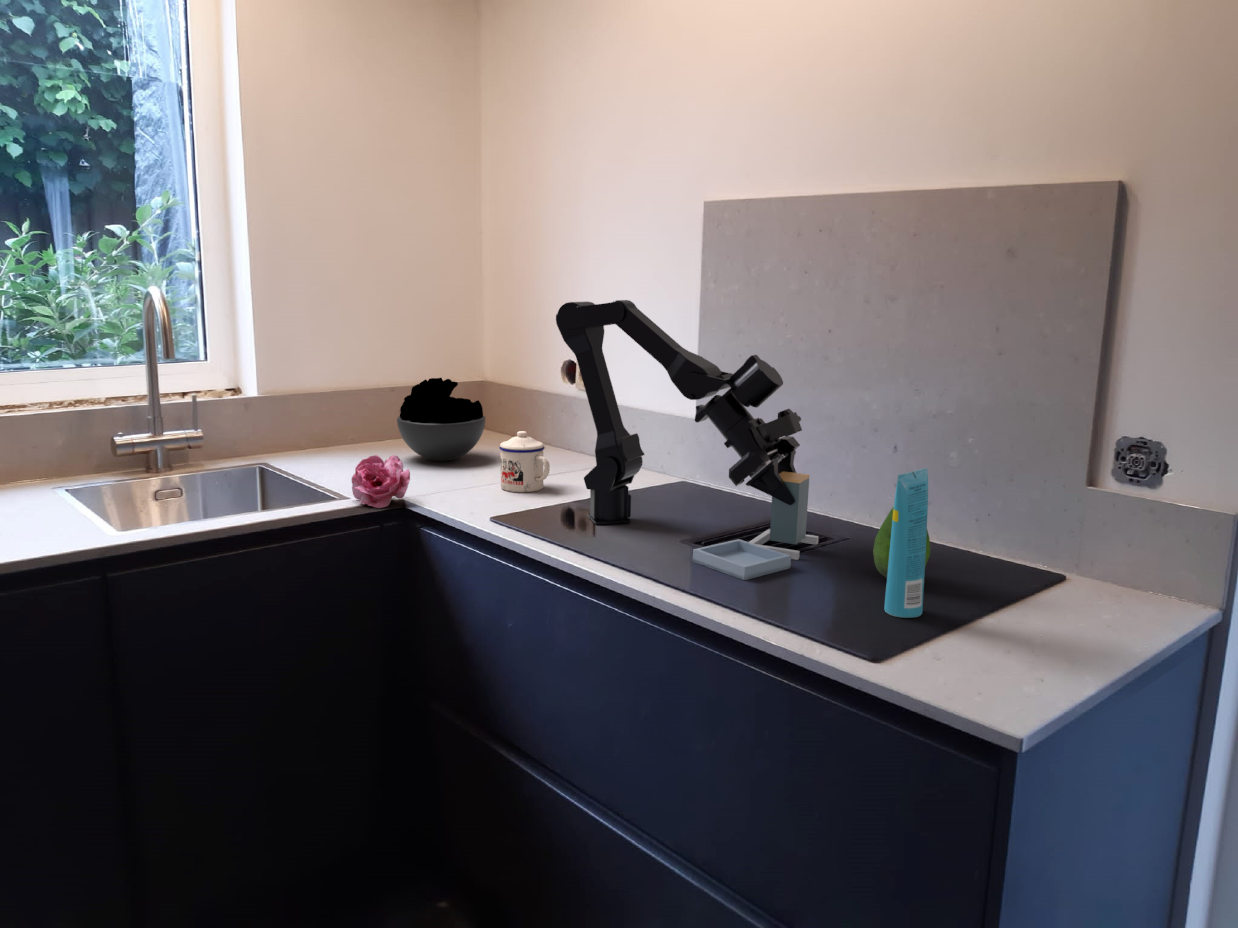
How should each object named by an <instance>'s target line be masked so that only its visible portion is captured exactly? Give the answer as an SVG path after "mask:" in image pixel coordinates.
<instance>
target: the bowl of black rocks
mask: <svg viewBox="0 0 1238 928" xmlns="http://www.w3.org/2000/svg"><path fill="white" fill-rule="evenodd" d="M458 384H459V383H458V382H457V381H452V379H450V378H446V379H444V380H443V378H442V377H439V378H438V377H433V378H429V379H426V378H425V379H424V380H423V381H420V382H419V383H417V384H415V385H414V386H411V391H410V394H409V395H407V396H405V397H404V398H403V402H402V404H401V406H400V409H399V411H400V413H399V416H397V417H396V423H397V428H398V431H399V434H400V436H401V438H402V440H403V441H404V443H405V444H406V445H407V447H408V448H409V449H411V451H413V452H414V453H415V454H417V455H418V456H420V457H422V458H424V459H428V460H430V461H438V462H447V461H451V460H456V459H458V458H460V457H462V456H465V455H466V454H467V453H469V452H470V451H471V450H472V449H473V448H474V447H475V446H477V444H478V442H479V441H480V439H481V437H482V435H483V433H484V430H485V425H486V416H484V412H483V411H484V409H483V405H482V403H481V402H480V400H475V401H472V400H471V399H469V398H463V397H453V396H451V395H452V392H453V391H454V389H455V388H456V387H458Z"/></svg>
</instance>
